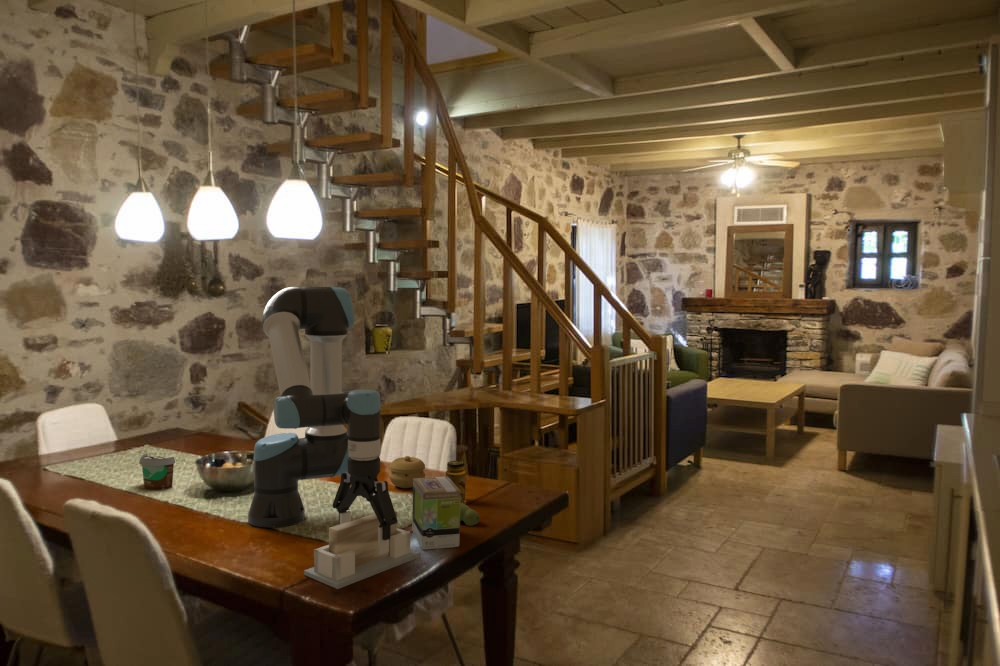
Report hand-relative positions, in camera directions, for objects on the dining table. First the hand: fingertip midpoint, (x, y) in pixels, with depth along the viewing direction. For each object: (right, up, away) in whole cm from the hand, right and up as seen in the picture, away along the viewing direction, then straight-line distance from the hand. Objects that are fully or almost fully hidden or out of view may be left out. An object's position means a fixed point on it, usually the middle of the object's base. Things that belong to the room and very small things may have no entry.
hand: (363, 545), depth 175 cm
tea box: (+15, -4, +19) cm, 25 cm away
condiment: (+18, -2, +52) cm, 55 cm away
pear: (+22, -3, +33) cm, 39 cm away
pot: (+2, 0, +67) cm, 67 cm away
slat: (0, -4, 0) cm, 4 cm away
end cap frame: (0, -5, 0) cm, 5 cm away
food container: (-78, +1, +61) cm, 99 cm away
